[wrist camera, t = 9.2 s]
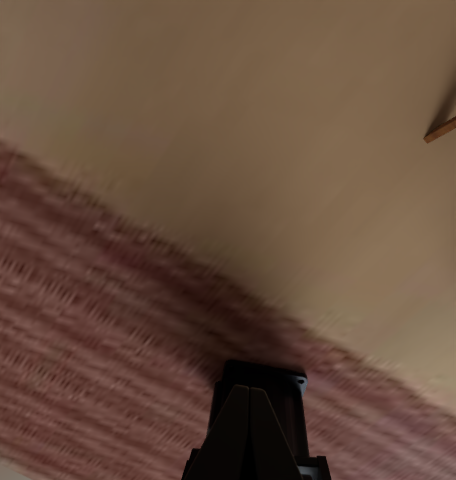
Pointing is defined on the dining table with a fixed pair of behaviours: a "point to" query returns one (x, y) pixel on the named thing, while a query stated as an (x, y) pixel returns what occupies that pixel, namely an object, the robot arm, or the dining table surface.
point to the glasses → (441, 130)
